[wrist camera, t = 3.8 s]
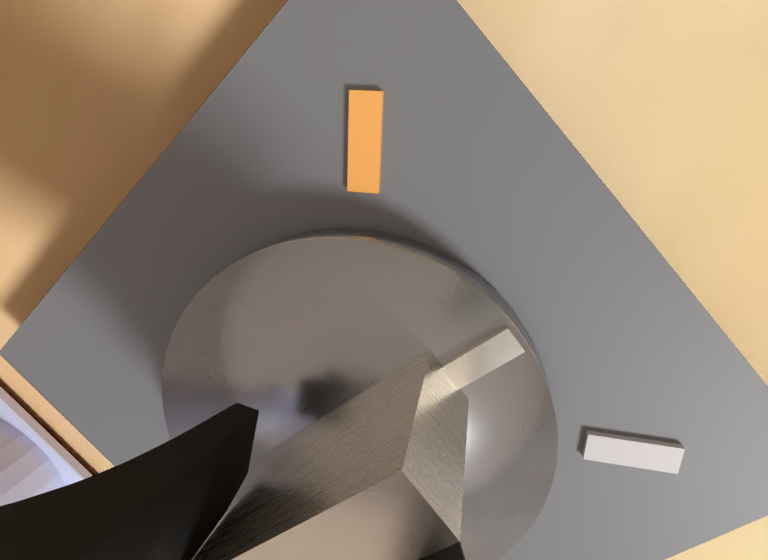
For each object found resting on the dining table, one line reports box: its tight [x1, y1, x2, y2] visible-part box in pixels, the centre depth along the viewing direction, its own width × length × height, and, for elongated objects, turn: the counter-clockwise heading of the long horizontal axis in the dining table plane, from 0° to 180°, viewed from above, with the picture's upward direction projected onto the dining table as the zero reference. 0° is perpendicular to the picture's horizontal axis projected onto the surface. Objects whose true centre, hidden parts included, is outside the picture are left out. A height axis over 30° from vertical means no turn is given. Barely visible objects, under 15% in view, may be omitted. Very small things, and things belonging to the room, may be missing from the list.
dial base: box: [0, 0, 768, 560], centre depth 15 cm, size 18×18×2 cm
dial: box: [162, 228, 558, 560], centre depth 12 cm, size 11×11×6 cm
